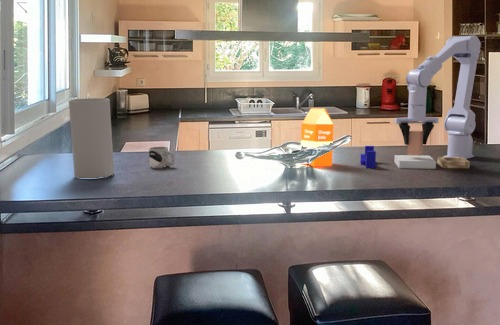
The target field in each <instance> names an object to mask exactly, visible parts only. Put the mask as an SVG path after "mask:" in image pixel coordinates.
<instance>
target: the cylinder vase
mask: <svg viewBox="0 0 500 325" xmlns="http://www.w3.org/2000/svg"><path fill="white" fill-rule="evenodd" d="M110 101H111V100H110V98H105V97H103V98H102V97H100V98H99V97H95V98H94V97H92V98H91V97H90V98H88V97H87V98H74V99H69V100H68V109H69V122H70V134H71V137H70V138H71V145H72V146H71V148H72V149H71V150H72V160H73V170H74V171H73V172H74V177H75V178H76V177H78V178H99V177H106V176H110V175H112V174H113V175H115V168H114V167H115V165H114V164H115V163H114V149H113V148H114V147H113V133H112V120H111V119H112V118H111V117H112V116H111V102H110ZM113 175H112V176H113ZM78 178H77V179H78Z"/></svg>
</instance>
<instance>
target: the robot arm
mask: <svg viewBox="0 0 500 325" xmlns="http://www.w3.org/2000/svg"><path fill="white" fill-rule="evenodd" d="M481 46H482V43H481V41H480V39H479V38H478V36H477V35H475V34H473V35H465V36H464V35H462V36H450V37H449V38H448V39H447V40H446V41H445V44H444V46H443V47H442V48H441V49H440V50H439V51H438V53H436V54H435V55H431V56H426V58H425V60H424V61H423V62H422V63H420V64H419V65H418V66H417V68H415V69H413V68H412V69H411V70H410V71H409V72H407V74H406V77H405V83H406V84H407V85H406V86H407V90H408V106H407V107H408V109H407V110H408V111H407V116H406V117H395V118H394V124H395V125H398V127H399V129H400V131H401V135H402V137H403V142H404V145H406V146H408V144H409V131H411V130H410V129H411V126H410V124H413V125H414V124H421V131H424V136H423V146H424V145H427V143H428V139H429V137H430V134H431V133H432V131H433V129H434V127H435V124H439V117H437V116H435V117H434V116H433V117H432V116H426V114H427V113H426V112H427V94H428V93H427V92H428V89H427V88H428V86H429V85H430V84H431V82H432V80H433V77H434V76H436V74H437V73H438V72H439V71H441V69H442V68H443V63H445V62H446V61H447V60H449V59H450V58H451V57H453V58H454V59H455V60H456V61H458V62H459V63H460V67H459V73H458V81H457V84H456V85H457V86H456V91H455V92H456V93H455V97H454V98H455V99H454V105H453V107H452V108H450V109H448V111H447V114H446V117H445V119H444V121H443V127H444V129H445V131H446V134H448V137H447V138H448V139H447V154H446V155H443V156H442V157H463V158H465V159H466V160H468V159H471V158H474V157H475V155H473V146H474V140H473V137H472V134H473V132H474V131H475V129H476V125H477V124H476V114H475V112H474V111H473V110H472V109H471V102H472V101H471V100H472V95H473V94H472V93H473V87H474V80H475V76H476V70H477V64H478V60H479V57H480V51H481Z"/></svg>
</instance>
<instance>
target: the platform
mask: <svg viewBox="0 0 500 325" xmlns="http://www.w3.org/2000/svg"><path fill="white" fill-rule="evenodd" d="M394 164H395V166H397V168H398V169H428V170H429V169H430V170H431V169H434V170H436V169H437V161H436V160H435V159H434V158H433V157H431V155H426V154H425V155H424V154H422V155H419V156H417V155H407V154H406V155H405V154H404V155H403V154H401V155H399V154H394Z"/></svg>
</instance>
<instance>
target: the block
mask: <svg viewBox="0 0 500 325" xmlns="http://www.w3.org/2000/svg"><path fill="white" fill-rule="evenodd" d="M423 136H424V131H422V130H412V129H411V130H410V131H409V144H408V145H407V152H406V153H407V154H406V155H417V156H419V155H424V144H423Z"/></svg>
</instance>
